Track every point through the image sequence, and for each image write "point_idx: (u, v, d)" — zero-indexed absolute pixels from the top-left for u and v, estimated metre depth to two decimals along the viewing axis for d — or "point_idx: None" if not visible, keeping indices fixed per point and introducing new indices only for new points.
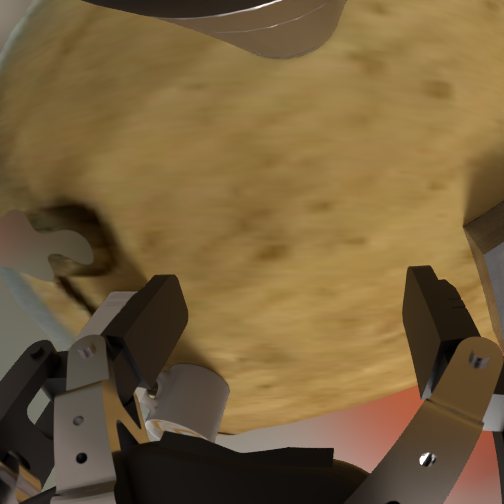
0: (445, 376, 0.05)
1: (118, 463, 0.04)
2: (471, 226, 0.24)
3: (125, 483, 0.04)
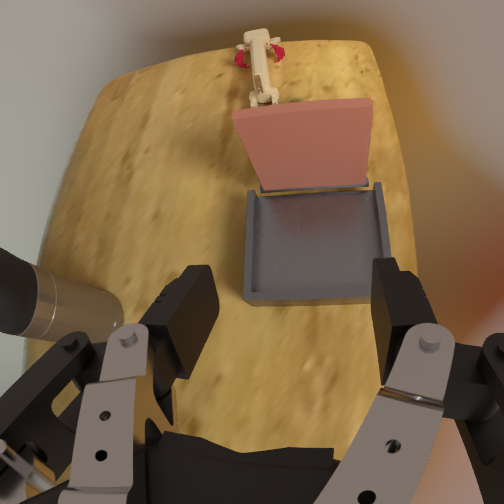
0: (397, 365, 0.05)
1: (138, 466, 0.04)
2: None
3: (142, 487, 0.04)
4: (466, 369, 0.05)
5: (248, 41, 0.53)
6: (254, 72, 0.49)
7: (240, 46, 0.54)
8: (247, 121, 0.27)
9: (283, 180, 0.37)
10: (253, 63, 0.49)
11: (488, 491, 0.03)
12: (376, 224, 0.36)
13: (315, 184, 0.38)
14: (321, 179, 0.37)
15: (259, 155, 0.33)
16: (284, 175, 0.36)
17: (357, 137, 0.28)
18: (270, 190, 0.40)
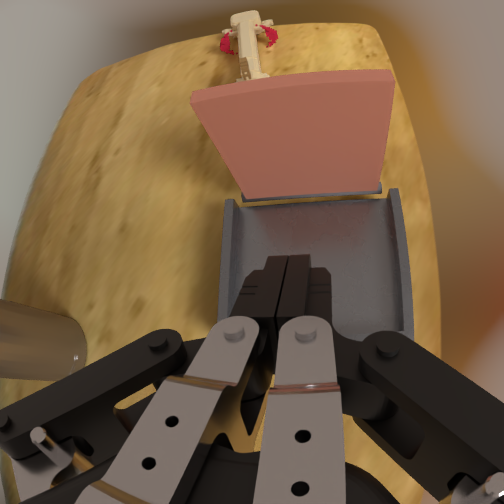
0: (279, 363, 0.06)
1: (183, 488, 0.03)
2: None
3: None
4: (345, 364, 0.06)
5: (235, 24, 0.44)
6: (241, 56, 0.40)
7: (226, 30, 0.45)
8: (212, 105, 0.18)
9: (270, 185, 0.28)
10: (240, 47, 0.40)
11: (424, 479, 0.04)
12: (391, 243, 0.27)
13: (312, 191, 0.29)
14: (320, 184, 0.28)
15: (235, 154, 0.24)
16: (271, 179, 0.27)
17: (371, 126, 0.20)
18: (254, 199, 0.31)
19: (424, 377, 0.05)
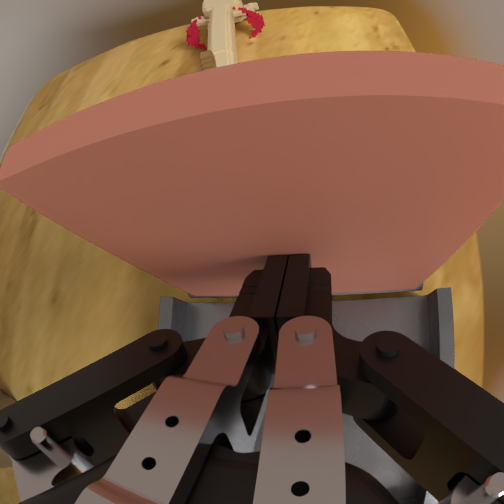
0: (279, 362, 0.06)
1: (182, 488, 0.03)
2: None
3: None
4: (345, 364, 0.06)
5: (208, 10, 0.31)
6: None
7: (197, 19, 0.33)
8: (33, 183, 0.06)
9: (229, 287, 0.16)
10: (210, 37, 0.28)
11: (424, 479, 0.04)
12: None
13: None
14: None
15: (141, 256, 0.11)
16: (227, 282, 0.15)
17: (453, 217, 0.07)
18: (208, 296, 0.19)
19: (424, 377, 0.05)
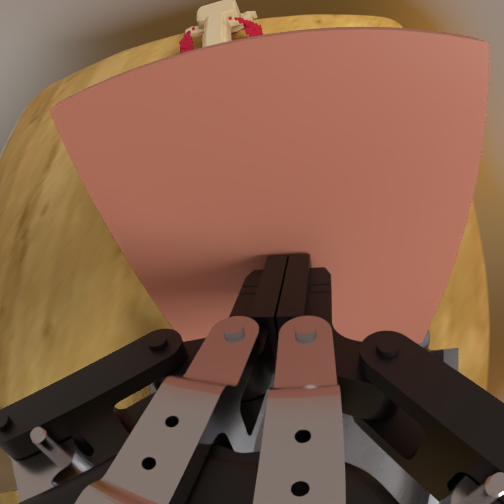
0: (279, 362, 0.06)
1: (183, 488, 0.03)
2: None
3: None
4: (345, 364, 0.06)
5: (203, 19, 0.30)
6: None
7: (191, 29, 0.32)
8: (82, 111, 0.08)
9: None
10: None
11: (424, 479, 0.04)
12: None
13: None
14: None
15: (143, 247, 0.12)
16: (222, 314, 0.14)
17: (441, 182, 0.08)
18: None
19: (424, 377, 0.05)
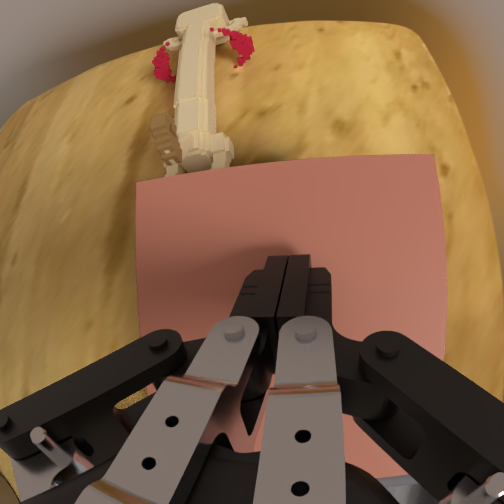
0: (279, 362, 0.06)
1: (183, 488, 0.03)
2: None
3: None
4: (345, 364, 0.06)
5: (182, 30, 0.25)
6: (177, 97, 0.21)
7: (170, 41, 0.27)
8: (161, 190, 0.13)
9: None
10: (179, 75, 0.22)
11: (424, 479, 0.04)
12: None
13: None
14: None
15: (161, 322, 0.13)
16: None
17: (416, 267, 0.11)
18: None
19: (424, 377, 0.05)
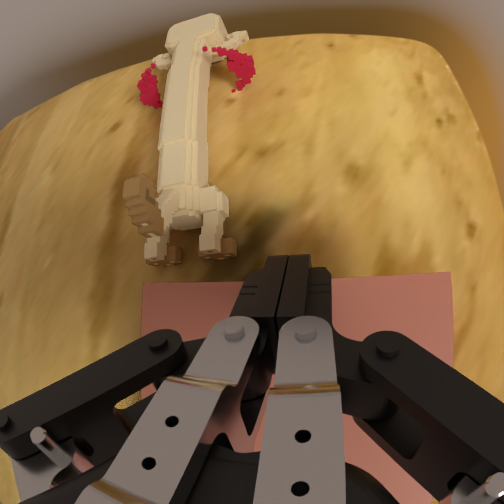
0: (279, 362, 0.06)
1: (183, 488, 0.03)
2: None
3: None
4: (345, 364, 0.06)
5: (173, 45, 0.22)
6: (162, 137, 0.18)
7: (159, 58, 0.24)
8: (168, 296, 0.13)
9: None
10: (165, 107, 0.19)
11: (424, 479, 0.04)
12: None
13: None
14: None
15: None
16: None
17: None
18: None
19: (424, 377, 0.05)
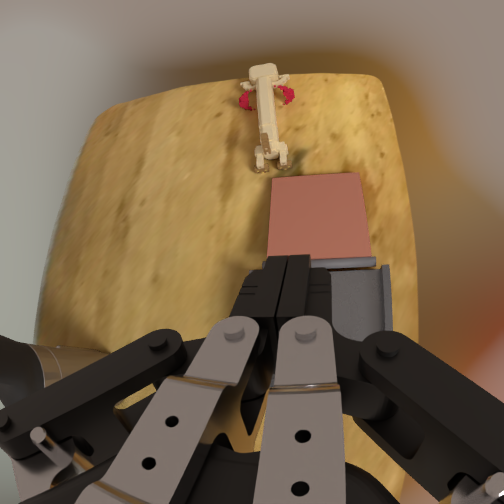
0: (279, 362, 0.06)
1: (183, 488, 0.03)
2: None
3: None
4: (345, 364, 0.06)
5: (254, 79, 0.51)
6: (261, 122, 0.47)
7: (245, 84, 0.52)
8: (281, 180, 0.45)
9: (290, 244, 0.39)
10: (259, 110, 0.48)
11: (424, 479, 0.04)
12: (381, 308, 0.35)
13: (320, 253, 0.38)
14: (326, 245, 0.38)
15: (278, 210, 0.43)
16: (292, 236, 0.40)
17: (353, 195, 0.41)
18: None
19: (424, 377, 0.05)
